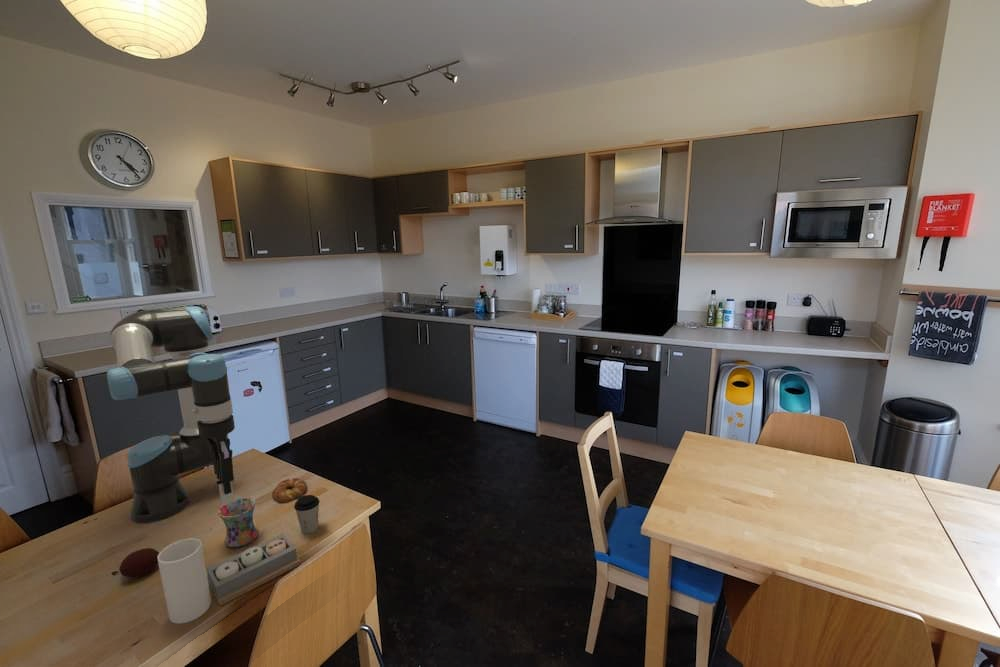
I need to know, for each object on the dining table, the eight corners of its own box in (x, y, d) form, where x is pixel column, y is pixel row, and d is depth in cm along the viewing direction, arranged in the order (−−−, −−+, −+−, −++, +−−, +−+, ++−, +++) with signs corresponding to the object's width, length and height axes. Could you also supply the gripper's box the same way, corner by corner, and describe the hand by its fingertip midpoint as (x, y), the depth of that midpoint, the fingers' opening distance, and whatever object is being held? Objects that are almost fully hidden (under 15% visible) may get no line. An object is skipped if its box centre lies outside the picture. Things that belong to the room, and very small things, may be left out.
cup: (183, 596, 108) (172, 539, 105) (218, 594, 109) (208, 536, 106) (161, 625, 100) (148, 563, 97) (199, 622, 101) (187, 561, 98)
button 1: (215, 579, 112) (213, 568, 111) (236, 569, 115) (234, 558, 114) (220, 589, 108) (218, 577, 108) (242, 579, 112) (240, 567, 111)
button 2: (240, 563, 115) (238, 552, 115) (259, 554, 119) (258, 543, 118) (246, 573, 112) (244, 561, 111) (266, 563, 115) (264, 552, 115)
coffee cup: (327, 525, 135) (324, 496, 133) (309, 539, 128) (305, 508, 126) (310, 519, 138) (307, 490, 135) (291, 533, 131) (288, 502, 129)
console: (206, 580, 113) (203, 565, 113) (283, 543, 127) (281, 530, 126) (219, 606, 105) (217, 591, 104) (300, 564, 118) (298, 550, 118)
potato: (122, 570, 117) (118, 551, 116) (161, 557, 122) (157, 538, 121) (121, 587, 111) (116, 567, 110) (161, 572, 116) (157, 552, 115)
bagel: (297, 504, 146) (296, 494, 145) (265, 504, 146) (263, 494, 146) (313, 484, 158) (312, 475, 157) (283, 484, 158) (281, 475, 157)
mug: (256, 546, 126) (251, 513, 124) (219, 553, 123) (213, 519, 121) (264, 521, 137) (260, 490, 135) (230, 527, 134) (225, 496, 132)
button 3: (264, 556, 120) (262, 545, 119) (282, 547, 123) (281, 536, 122) (270, 564, 116) (269, 553, 116) (289, 555, 120) (288, 544, 119)
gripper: (191, 414, 111) (205, 497, 116) (203, 430, 102) (218, 520, 107) (225, 405, 116) (237, 486, 121) (240, 420, 107) (252, 507, 112)
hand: (228, 502), depth 114 cm, fingers closed
